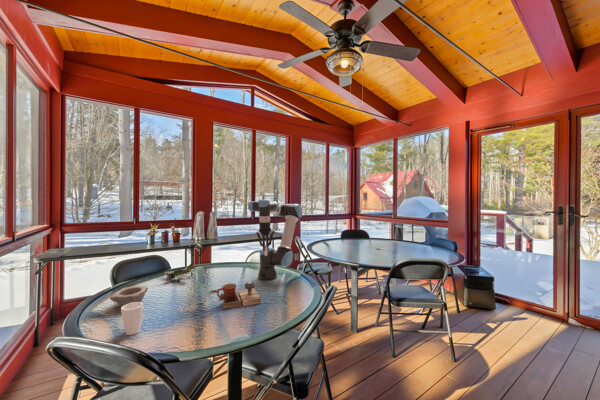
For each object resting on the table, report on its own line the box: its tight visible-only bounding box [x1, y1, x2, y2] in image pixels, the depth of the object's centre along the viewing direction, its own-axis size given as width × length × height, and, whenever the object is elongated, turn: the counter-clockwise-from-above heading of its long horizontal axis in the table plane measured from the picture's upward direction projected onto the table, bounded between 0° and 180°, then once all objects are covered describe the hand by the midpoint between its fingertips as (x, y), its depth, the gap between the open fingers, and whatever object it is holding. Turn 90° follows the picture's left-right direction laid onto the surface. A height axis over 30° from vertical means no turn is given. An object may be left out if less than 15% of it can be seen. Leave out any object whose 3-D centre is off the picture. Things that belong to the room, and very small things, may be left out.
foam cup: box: [120, 301, 144, 336], centre depth 134 cm, size 10×9×13 cm
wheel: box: [244, 281, 255, 290], centre depth 173 cm, size 6×6×3 cm
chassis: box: [219, 288, 262, 310], centre depth 170 cm, size 18×22×6 cm
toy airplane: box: [163, 263, 197, 283], centre depth 215 cm, size 31×25×10 cm
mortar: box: [109, 285, 149, 308], centre depth 165 cm, size 17×17×9 cm
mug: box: [216, 283, 237, 303], centre depth 168 cm, size 12×9×10 cm
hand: (265, 255), depth 187 cm, fingers closed
